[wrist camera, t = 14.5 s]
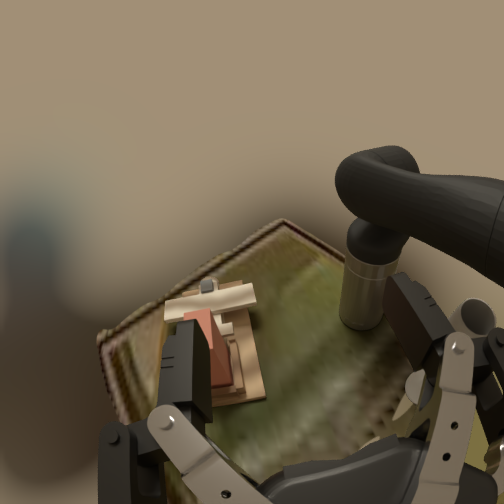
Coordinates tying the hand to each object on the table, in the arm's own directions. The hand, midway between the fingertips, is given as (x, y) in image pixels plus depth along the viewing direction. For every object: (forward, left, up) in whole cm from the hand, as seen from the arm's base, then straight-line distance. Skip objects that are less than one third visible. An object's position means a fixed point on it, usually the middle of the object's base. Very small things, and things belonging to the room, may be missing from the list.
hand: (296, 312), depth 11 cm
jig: (-9, -26, -36) cm, 45 cm away
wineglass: (-19, +14, -37) cm, 44 cm away
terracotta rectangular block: (-3, -19, -35) cm, 40 cm away
